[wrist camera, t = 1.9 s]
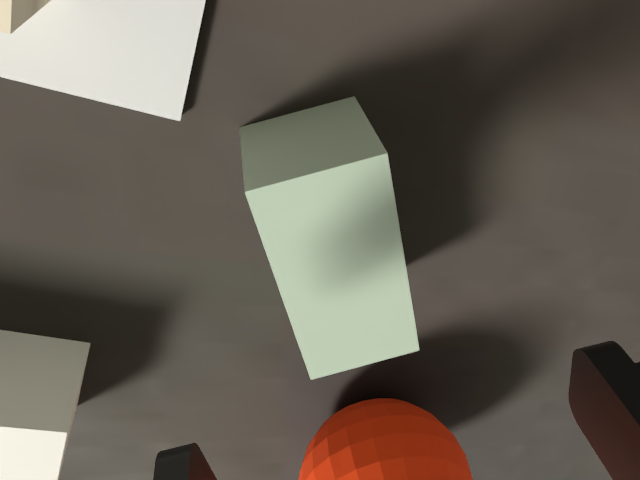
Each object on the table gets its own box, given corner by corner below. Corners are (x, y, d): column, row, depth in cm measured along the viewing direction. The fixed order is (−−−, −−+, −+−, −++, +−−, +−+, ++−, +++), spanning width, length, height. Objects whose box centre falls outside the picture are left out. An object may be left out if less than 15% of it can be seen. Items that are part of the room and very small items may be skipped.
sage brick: (239, 125, 16) (244, 191, 13) (353, 94, 16) (387, 152, 13) (295, 296, 20) (310, 379, 17) (387, 272, 20) (419, 350, 17)
